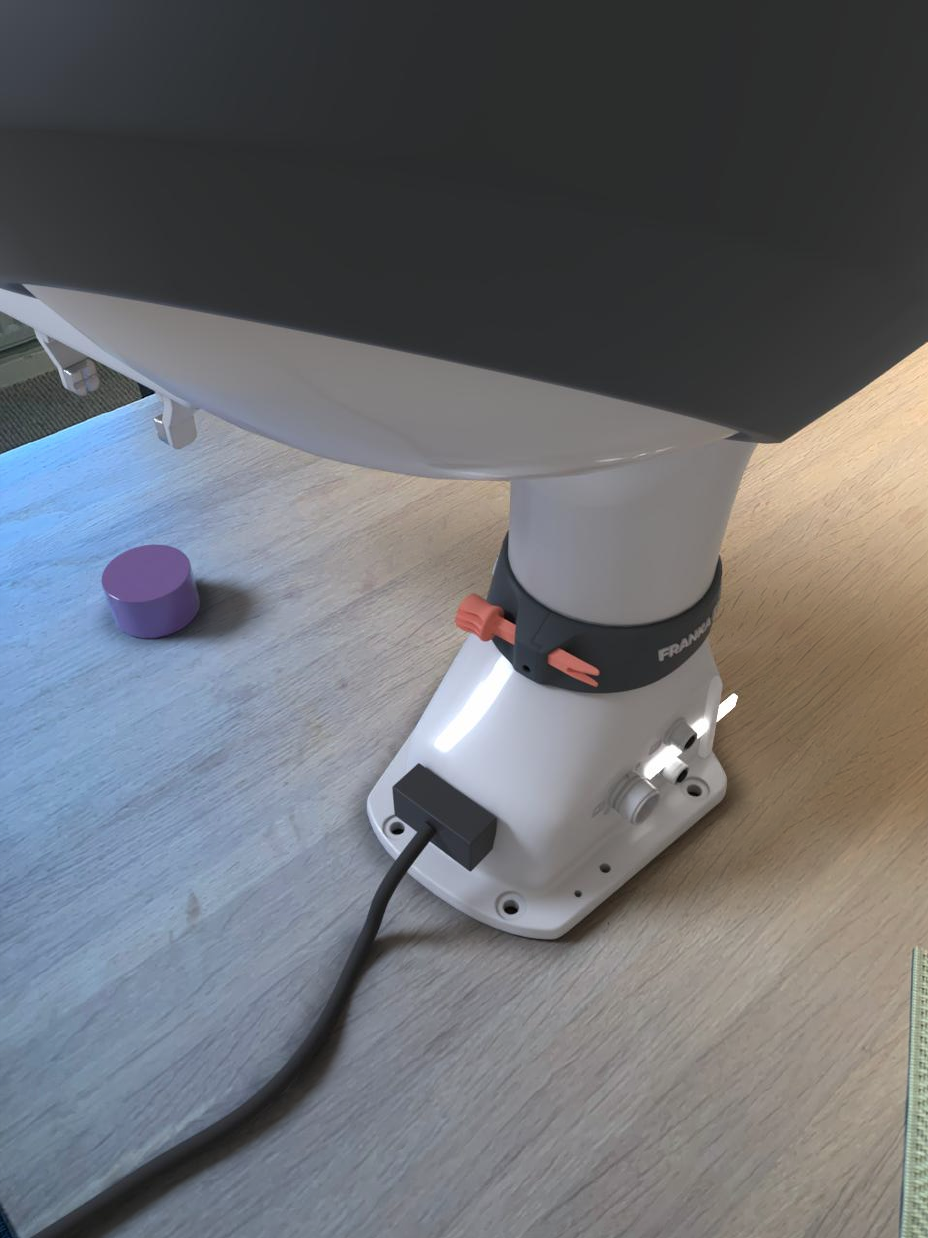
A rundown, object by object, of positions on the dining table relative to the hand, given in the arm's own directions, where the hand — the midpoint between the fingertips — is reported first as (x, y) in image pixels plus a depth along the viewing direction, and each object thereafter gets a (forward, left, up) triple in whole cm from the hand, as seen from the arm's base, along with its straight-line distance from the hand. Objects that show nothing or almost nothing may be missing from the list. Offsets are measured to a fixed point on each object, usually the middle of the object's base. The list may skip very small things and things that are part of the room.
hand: (129, 414), depth 62 cm
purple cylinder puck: (-2, -1, -15) cm, 15 cm away
